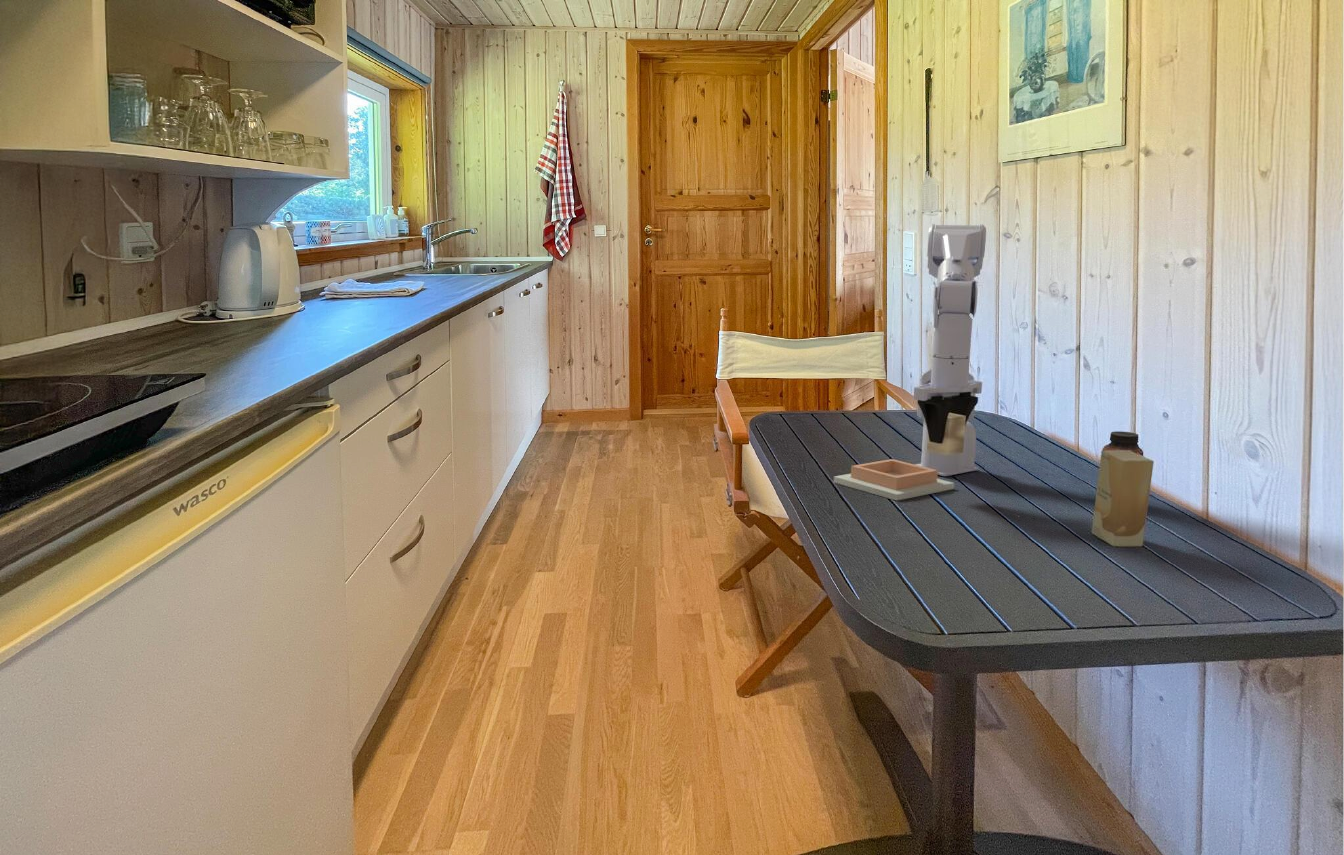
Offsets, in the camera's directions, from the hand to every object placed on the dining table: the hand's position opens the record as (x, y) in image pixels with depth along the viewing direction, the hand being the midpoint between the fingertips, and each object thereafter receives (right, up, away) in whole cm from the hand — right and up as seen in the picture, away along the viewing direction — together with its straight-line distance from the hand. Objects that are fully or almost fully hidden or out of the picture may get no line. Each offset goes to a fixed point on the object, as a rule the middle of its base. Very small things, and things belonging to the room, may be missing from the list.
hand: (945, 440), depth 155 cm
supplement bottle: (+27, -10, -2) cm, 29 cm away
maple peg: (0, -2, 0) cm, 2 cm away
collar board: (-7, -8, +7) cm, 12 cm away
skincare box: (+18, -14, -22) cm, 31 cm away
